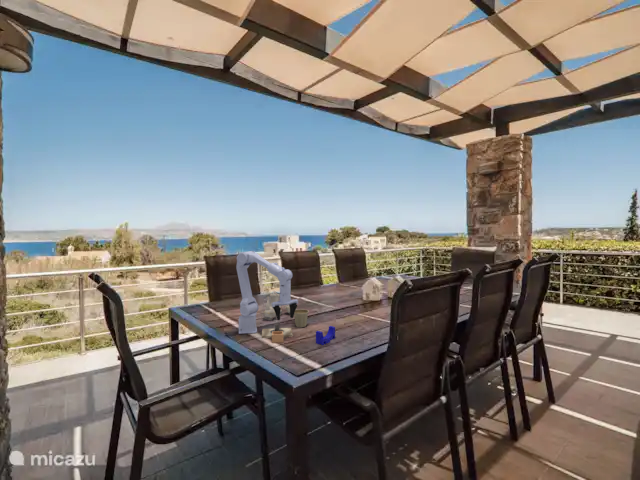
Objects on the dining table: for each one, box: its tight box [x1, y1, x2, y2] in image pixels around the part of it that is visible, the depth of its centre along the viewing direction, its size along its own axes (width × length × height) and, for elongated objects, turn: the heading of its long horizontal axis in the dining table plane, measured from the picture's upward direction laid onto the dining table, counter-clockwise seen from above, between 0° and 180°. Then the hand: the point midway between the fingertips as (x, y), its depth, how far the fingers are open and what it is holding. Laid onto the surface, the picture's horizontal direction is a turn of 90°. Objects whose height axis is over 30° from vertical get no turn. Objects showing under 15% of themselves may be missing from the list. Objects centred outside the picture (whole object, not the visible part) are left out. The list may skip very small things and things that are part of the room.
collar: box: [271, 331, 284, 344], centre depth 167 cm, size 6×6×4 cm
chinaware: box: [260, 289, 299, 321], centre depth 213 cm, size 28×17×17 cm, turn 143°
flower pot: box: [293, 308, 310, 328], centre depth 191 cm, size 9×9×9 cm
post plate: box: [261, 323, 294, 339], centre depth 178 cm, size 16×12×6 cm
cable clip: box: [315, 325, 336, 346], centre depth 167 cm, size 12×4×6 cm, turn 141°
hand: (285, 318), depth 172 cm, fingers open, 7 cm apart
